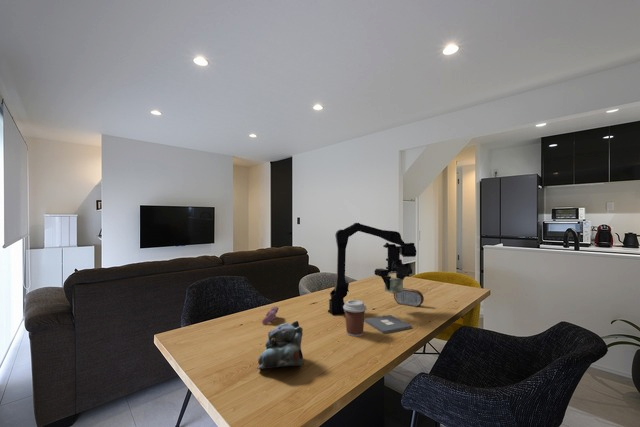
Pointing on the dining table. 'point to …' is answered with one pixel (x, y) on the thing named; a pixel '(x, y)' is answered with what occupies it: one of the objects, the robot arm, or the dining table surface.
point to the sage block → (395, 285)
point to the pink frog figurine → (270, 315)
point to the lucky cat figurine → (283, 347)
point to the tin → (409, 297)
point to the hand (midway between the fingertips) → (393, 289)
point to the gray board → (387, 324)
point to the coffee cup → (354, 317)
